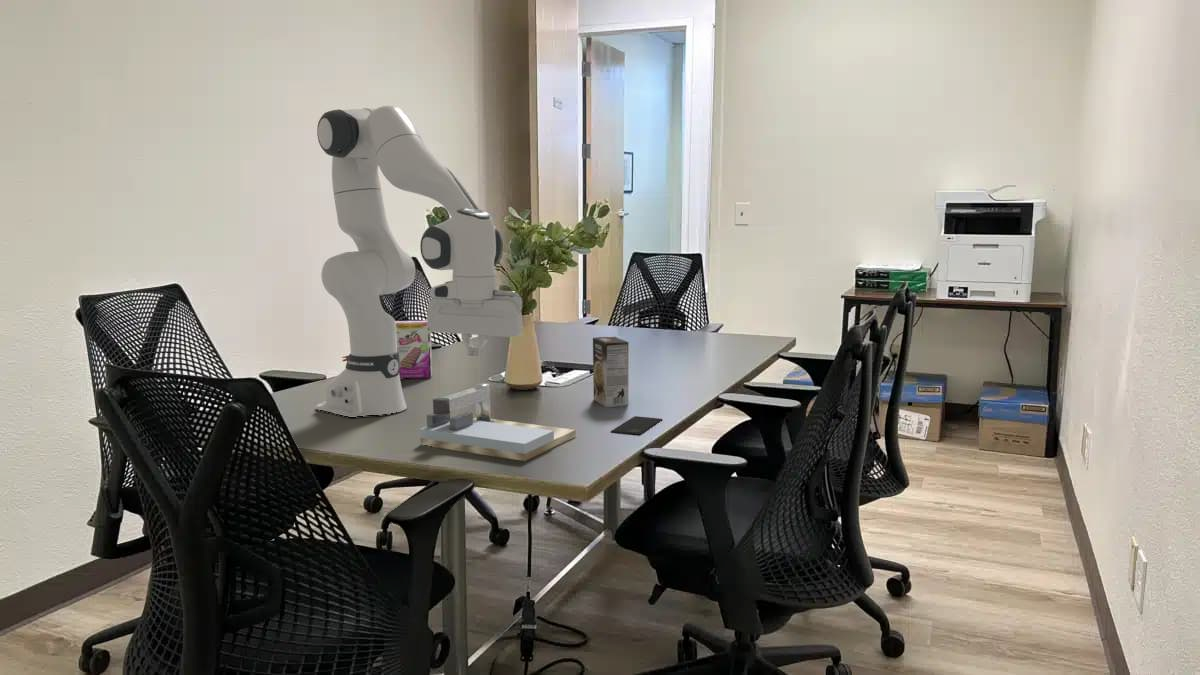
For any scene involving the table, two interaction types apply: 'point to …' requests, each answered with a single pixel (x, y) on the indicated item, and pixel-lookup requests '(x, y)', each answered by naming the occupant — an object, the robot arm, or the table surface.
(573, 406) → the table surface
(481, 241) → the robot arm
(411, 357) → the candy bar box
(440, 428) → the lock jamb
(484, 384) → the lock bar
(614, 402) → the coffee box
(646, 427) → the smartphone
